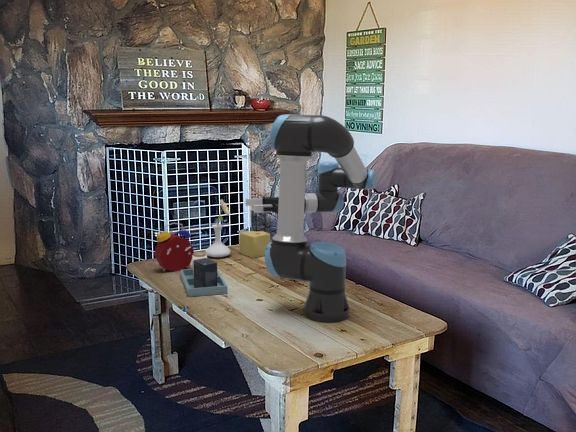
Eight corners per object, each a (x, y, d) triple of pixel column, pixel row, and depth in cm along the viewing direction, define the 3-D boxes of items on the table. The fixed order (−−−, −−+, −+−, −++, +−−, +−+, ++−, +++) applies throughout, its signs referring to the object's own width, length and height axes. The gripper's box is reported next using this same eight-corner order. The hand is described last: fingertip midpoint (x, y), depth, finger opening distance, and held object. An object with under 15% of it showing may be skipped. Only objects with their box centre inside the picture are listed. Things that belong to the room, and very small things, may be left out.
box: (217, 289, 214) (217, 262, 211) (204, 293, 210) (203, 264, 208) (206, 284, 220) (206, 257, 217) (193, 287, 216) (192, 259, 214)
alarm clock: (188, 265, 244) (187, 219, 240) (197, 271, 237) (196, 223, 233) (154, 271, 236) (152, 223, 232) (162, 277, 229) (160, 227, 225)
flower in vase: (222, 260, 252) (221, 203, 247) (200, 257, 257) (199, 201, 252) (237, 253, 264) (237, 198, 259) (215, 250, 269) (215, 196, 264)
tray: (227, 294, 211) (227, 286, 211) (188, 297, 207) (188, 289, 207) (216, 274, 234) (215, 267, 233) (180, 276, 230) (180, 269, 229)
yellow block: (257, 250, 271) (257, 228, 268) (271, 255, 263) (271, 233, 260) (238, 253, 264) (238, 232, 262) (252, 259, 256) (252, 236, 254)
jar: (208, 279, 225) (208, 254, 223) (193, 280, 224) (193, 255, 222) (206, 274, 231) (205, 250, 229) (191, 276, 229) (191, 251, 227)
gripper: (314, 219, 213) (257, 222, 207) (293, 206, 237) (242, 209, 231) (314, 199, 212) (257, 201, 206) (294, 188, 235) (242, 190, 229)
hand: (249, 205), depth 218 cm, fingers open, 13 cm apart
